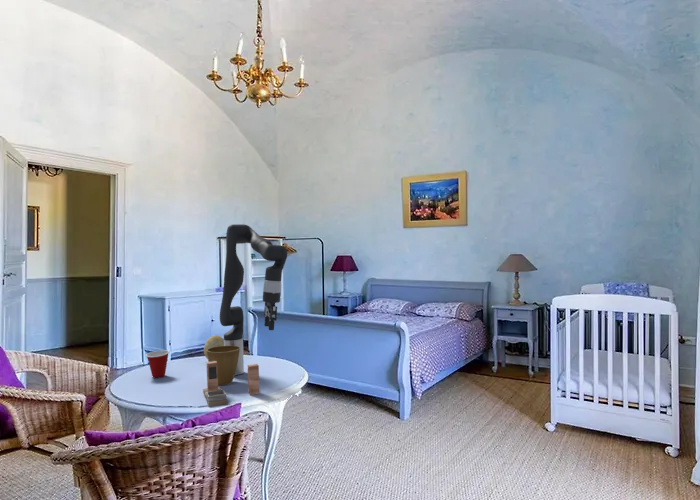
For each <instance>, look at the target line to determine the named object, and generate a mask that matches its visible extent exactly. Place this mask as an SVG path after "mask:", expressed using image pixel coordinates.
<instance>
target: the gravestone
mask: <svg viewBox="0 0 700 500" xmlns="http://www.w3.org/2000/svg"><path fill="white" fill-rule="evenodd" d="M202 392H203V395H204V398H205V401H206V403H207V406H208V408H209V407H216V406H222V405H227V404H228V400H227V393H226V391H225V389H222V388H221V387H220V386H219V385H218V373H217V362H216V361H212V362H209V361H206V388H203V389H202Z"/></svg>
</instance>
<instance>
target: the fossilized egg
mask: <svg viewBox="0 0 700 500" xmlns="http://www.w3.org/2000/svg"><path fill="white" fill-rule="evenodd" d="M217 346H224V337H222V336H221V335H219V334H212V335H211V336H210V337H209V338H207V340H206V342H205V344H204V347H203V353H204V356H205V358H206V359H207V360H208V356H207V349H208V348H212V347H217Z"/></svg>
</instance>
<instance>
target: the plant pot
mask: <svg viewBox="0 0 700 500" xmlns="http://www.w3.org/2000/svg"><path fill="white" fill-rule="evenodd" d="M239 351H240V347H238V346H217V347H212V348H208V349H207V356H208V359H207V362H212V361H216V362H217V373H218V386H225V385H227V386H228V385H231V384H232V383H233V381H234V378H235V376H236V375H235V372H236V368H237V363H238V358H239Z"/></svg>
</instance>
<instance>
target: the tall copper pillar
mask: <svg viewBox="0 0 700 500" xmlns="http://www.w3.org/2000/svg"><path fill="white" fill-rule="evenodd" d="M259 369H260V366H259V364H258V363H253V364H252V363H251V364H247V386H248V391H247V392H248V394H249V395H250V396H254V395H258V394H259V395H260V394H261V393H260V391H261V390H260V371H259Z"/></svg>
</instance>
